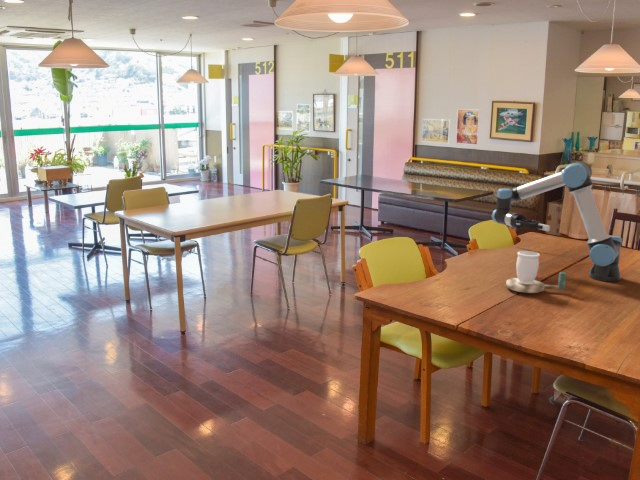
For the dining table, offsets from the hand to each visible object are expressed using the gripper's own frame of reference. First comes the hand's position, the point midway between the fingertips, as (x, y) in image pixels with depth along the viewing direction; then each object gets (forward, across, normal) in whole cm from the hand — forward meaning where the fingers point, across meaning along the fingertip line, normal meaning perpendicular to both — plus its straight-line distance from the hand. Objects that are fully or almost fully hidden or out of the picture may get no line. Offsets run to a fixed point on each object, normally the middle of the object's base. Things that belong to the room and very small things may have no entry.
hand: (548, 228), depth 306 cm
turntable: (+7, +14, -27) cm, 31 cm away
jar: (+5, +17, -25) cm, 31 cm away
